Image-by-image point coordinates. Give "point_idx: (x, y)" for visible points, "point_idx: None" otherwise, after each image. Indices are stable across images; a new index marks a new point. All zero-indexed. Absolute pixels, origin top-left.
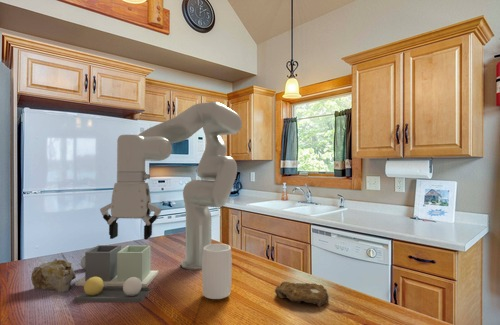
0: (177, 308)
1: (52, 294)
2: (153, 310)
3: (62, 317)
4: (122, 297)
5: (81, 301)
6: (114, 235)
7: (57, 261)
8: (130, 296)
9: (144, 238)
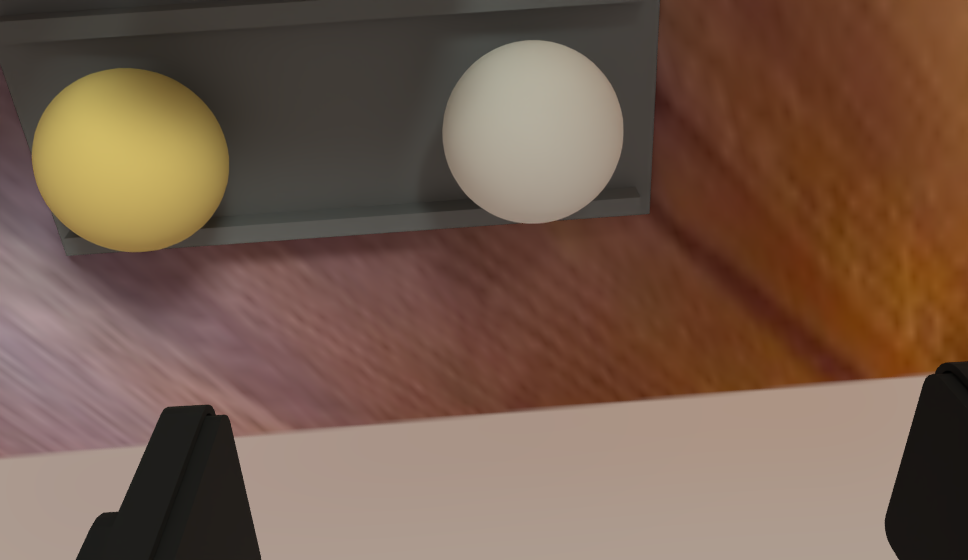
0: (940, 242)
1: None
2: (767, 283)
3: None
4: (483, 213)
5: None
6: (241, 553)
7: None
8: None
9: (902, 551)
